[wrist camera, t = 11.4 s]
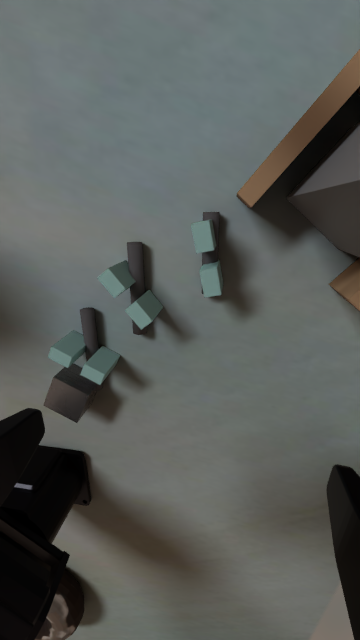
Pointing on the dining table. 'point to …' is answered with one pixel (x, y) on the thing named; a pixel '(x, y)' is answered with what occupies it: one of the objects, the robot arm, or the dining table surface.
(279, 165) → the end holder
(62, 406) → the brown grey short block
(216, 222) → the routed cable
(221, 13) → the dining table surface
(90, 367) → the cable clips
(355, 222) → the tall grey box
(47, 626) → the donut
